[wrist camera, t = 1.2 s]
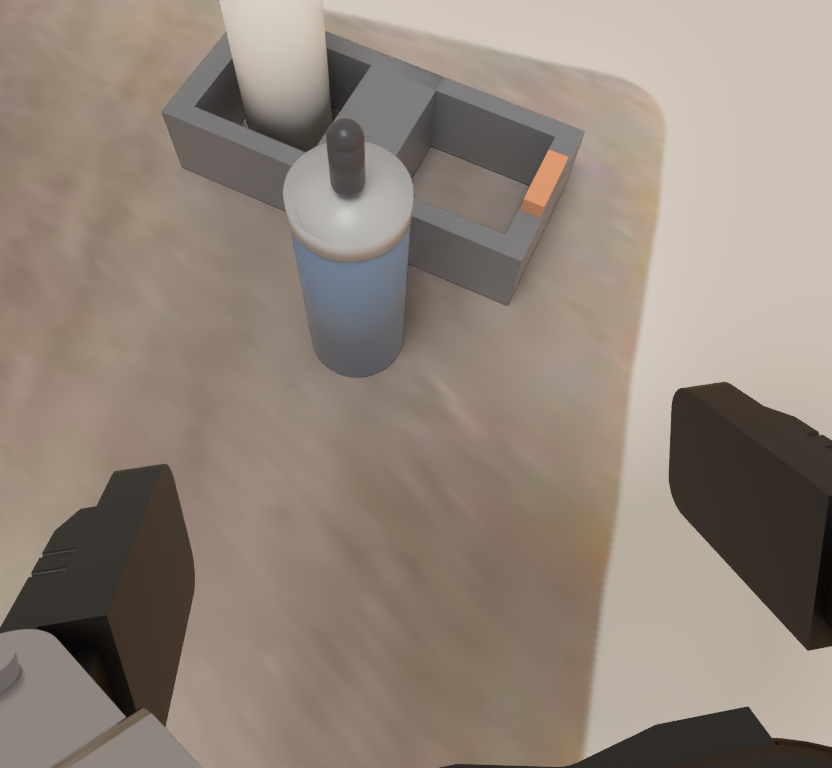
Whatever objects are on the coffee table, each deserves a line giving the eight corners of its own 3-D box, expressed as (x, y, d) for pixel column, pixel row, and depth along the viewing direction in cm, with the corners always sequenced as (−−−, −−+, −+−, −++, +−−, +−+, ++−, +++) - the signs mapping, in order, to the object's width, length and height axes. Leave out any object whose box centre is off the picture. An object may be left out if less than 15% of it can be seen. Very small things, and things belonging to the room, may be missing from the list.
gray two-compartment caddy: (181, 167, 39) (82, -101, 26) (261, 63, 42) (208, -223, 29) (507, 305, 36) (578, 86, 23) (566, 184, 40) (656, -69, 27)
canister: (294, 354, 35) (242, 149, 22) (337, 281, 37) (314, 51, 24) (378, 393, 34) (377, 205, 21) (419, 317, 36) (441, 100, 23)
